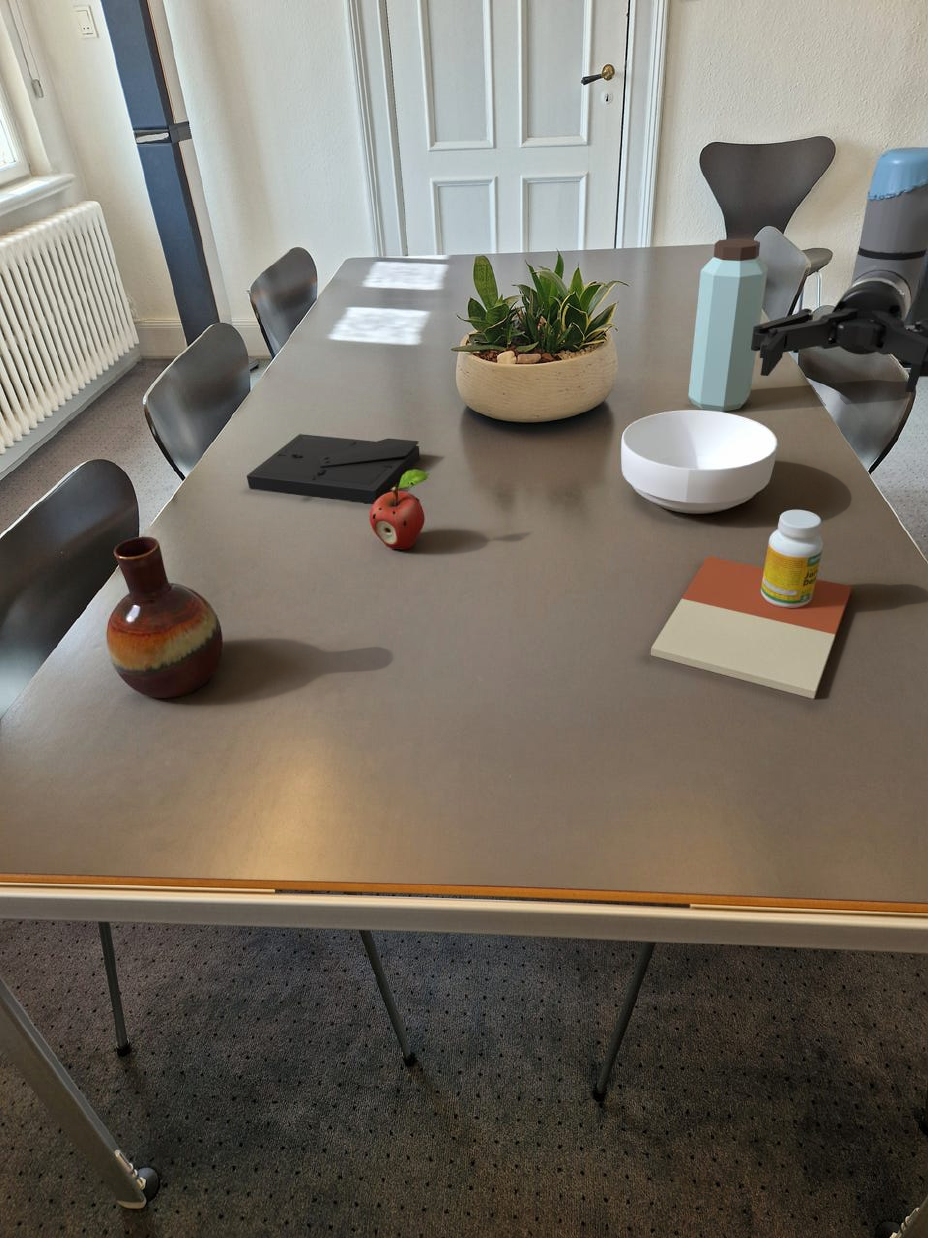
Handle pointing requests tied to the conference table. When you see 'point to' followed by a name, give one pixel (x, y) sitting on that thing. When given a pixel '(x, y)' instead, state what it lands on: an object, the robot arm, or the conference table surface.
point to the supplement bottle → (792, 560)
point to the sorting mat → (752, 629)
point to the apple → (399, 513)
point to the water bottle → (727, 325)
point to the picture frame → (336, 467)
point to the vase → (160, 627)
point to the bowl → (697, 459)
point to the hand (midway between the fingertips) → (836, 370)
